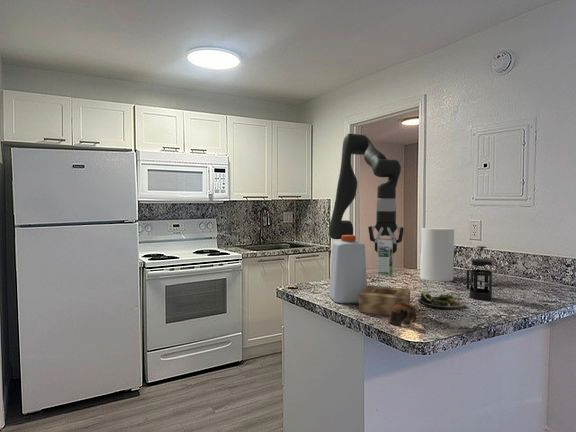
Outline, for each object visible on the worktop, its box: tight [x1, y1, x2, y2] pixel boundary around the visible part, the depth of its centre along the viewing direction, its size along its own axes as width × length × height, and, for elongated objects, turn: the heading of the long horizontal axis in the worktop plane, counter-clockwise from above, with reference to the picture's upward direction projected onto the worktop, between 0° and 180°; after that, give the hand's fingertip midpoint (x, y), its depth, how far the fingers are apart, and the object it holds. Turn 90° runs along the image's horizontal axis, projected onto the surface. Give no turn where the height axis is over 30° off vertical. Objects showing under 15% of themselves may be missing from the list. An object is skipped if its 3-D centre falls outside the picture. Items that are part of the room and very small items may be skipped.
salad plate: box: [416, 291, 466, 310], centre depth 169 cm, size 19×18×5 cm
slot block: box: [358, 284, 411, 317], centre depth 160 cm, size 17×17×7 cm
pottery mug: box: [387, 302, 417, 327], centre depth 141 cm, size 12×10×8 cm
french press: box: [466, 245, 494, 301], centre depth 179 cm, size 12×9×23 cm
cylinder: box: [419, 227, 455, 282], centre depth 223 cm, size 17×17×28 cm
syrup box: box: [376, 238, 395, 278], centre depth 159 cm, size 6×6×14 cm
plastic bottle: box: [328, 234, 368, 304], centre depth 175 cm, size 15×15×28 cm
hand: (385, 252), depth 159 cm, fingers closed on syrup box, 5 cm apart
